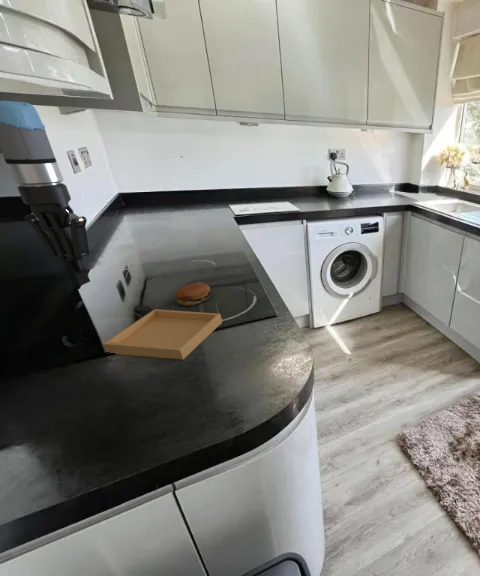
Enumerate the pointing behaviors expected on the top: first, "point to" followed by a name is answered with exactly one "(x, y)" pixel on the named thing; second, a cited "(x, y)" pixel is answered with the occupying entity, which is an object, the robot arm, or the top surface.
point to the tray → (164, 334)
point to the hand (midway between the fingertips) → (82, 283)
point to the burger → (193, 294)
